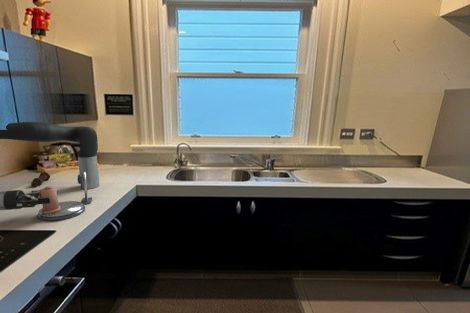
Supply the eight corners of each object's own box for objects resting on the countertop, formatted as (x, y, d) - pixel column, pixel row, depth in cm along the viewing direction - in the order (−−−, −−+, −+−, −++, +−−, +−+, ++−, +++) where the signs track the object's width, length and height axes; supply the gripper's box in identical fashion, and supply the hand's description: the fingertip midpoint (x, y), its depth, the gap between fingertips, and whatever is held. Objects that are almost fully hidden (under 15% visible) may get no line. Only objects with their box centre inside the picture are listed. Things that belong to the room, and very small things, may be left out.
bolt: (33, 191, 151) (44, 182, 165) (41, 186, 152) (52, 178, 166) (25, 182, 149) (37, 174, 164) (34, 177, 150) (45, 170, 164)
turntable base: (47, 207, 124) (47, 204, 124) (89, 203, 128) (88, 201, 128) (30, 223, 108) (30, 220, 108) (79, 218, 112) (78, 216, 112)
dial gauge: (82, 201, 132) (79, 171, 129) (92, 200, 133) (89, 170, 130) (79, 204, 128) (76, 173, 125) (90, 203, 129) (87, 173, 126)
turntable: (47, 204, 123) (47, 202, 123) (87, 201, 127) (87, 199, 127) (32, 219, 108) (32, 216, 108) (77, 215, 112) (77, 212, 112)
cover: (45, 208, 116) (42, 185, 114) (63, 207, 118) (60, 184, 116) (38, 215, 110) (35, 190, 108) (57, 213, 112) (54, 188, 110)
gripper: (-5, 197, 102) (46, 193, 106) (14, 185, 115) (58, 183, 119) (-2, 216, 103) (48, 212, 107) (17, 202, 117) (60, 199, 121)
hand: (53, 196), depth 113 cm, fingers open, 8 cm apart
